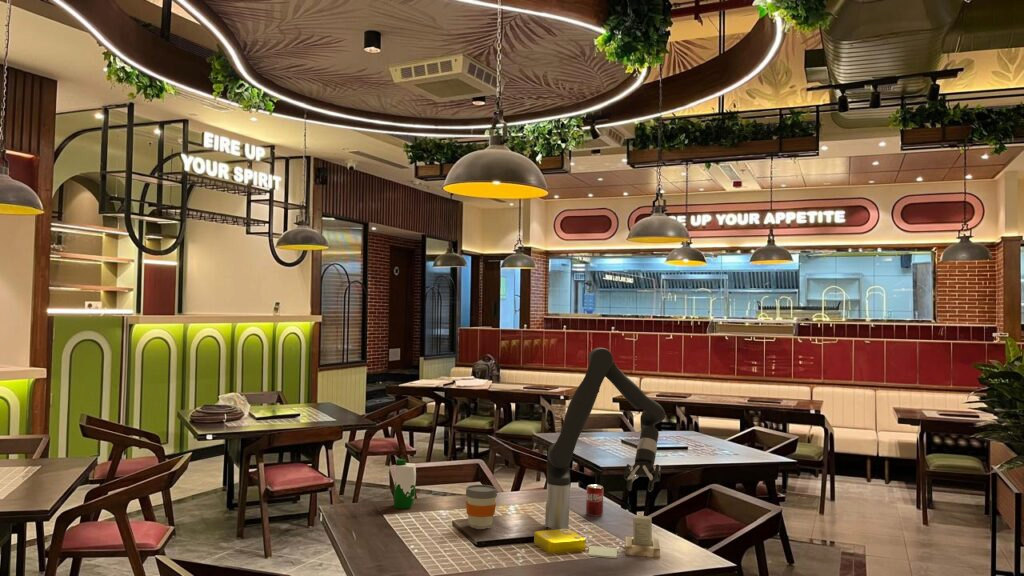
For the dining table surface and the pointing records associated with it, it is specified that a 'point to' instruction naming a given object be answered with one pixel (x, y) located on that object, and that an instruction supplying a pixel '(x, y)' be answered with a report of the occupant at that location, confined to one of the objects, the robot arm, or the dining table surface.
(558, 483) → the robot arm
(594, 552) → the coaster
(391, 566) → the dining table surface
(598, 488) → the soda can
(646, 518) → the skincare box
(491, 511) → the reusable coffee cup
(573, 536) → the element tile
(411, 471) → the milk carton
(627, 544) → the pocket block
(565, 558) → the dining table surface
